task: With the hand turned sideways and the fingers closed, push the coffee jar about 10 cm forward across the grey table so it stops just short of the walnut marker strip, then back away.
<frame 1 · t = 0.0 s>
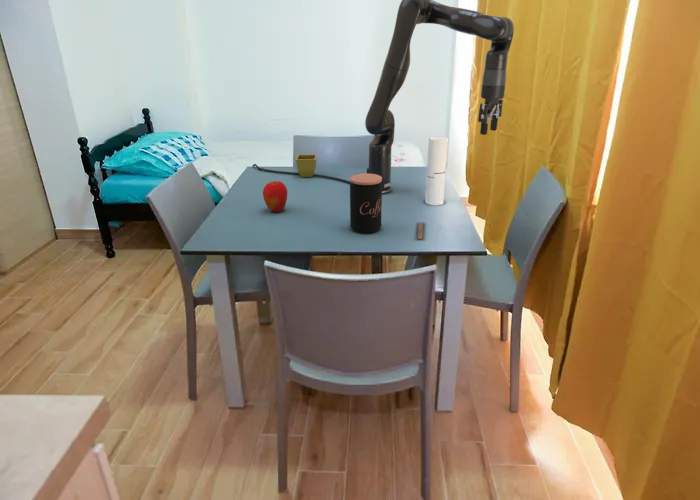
hand: (488, 132, 169), 29 cm above the table, tool pointing down, fingers open, 8 cm apart
flower pot: (307, 176, 228), on the table
coffee jar: (365, 229, 168), on the table
marker strip: (420, 231, 165), on the table
apple: (276, 211, 185), on the table
cylindrical container: (434, 202, 192), on the table
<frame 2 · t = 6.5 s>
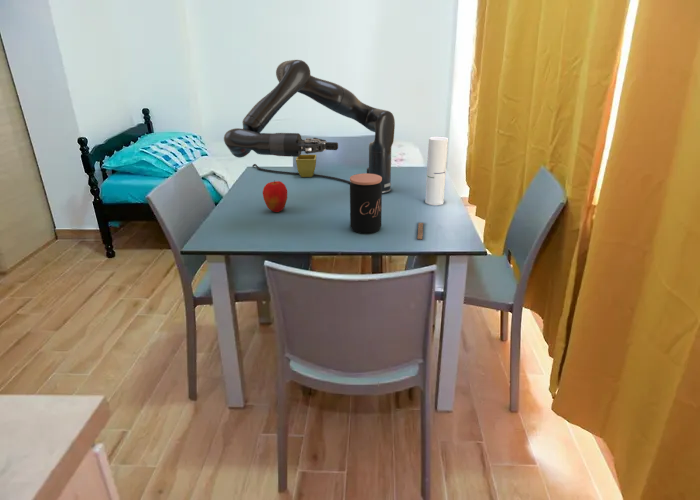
hand: (337, 146, 157), 28 cm above the table, tool horizontal, fingers closed
nothing on the table moved.
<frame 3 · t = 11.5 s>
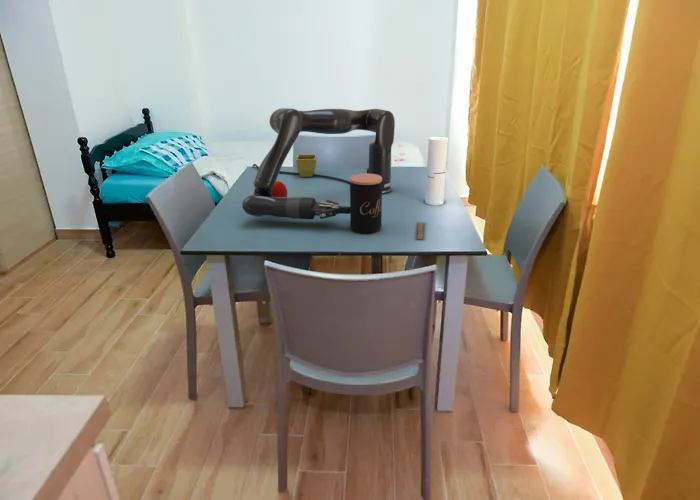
hand: (350, 210, 166), 6 cm above the table, tool horizontal, fingers closed
coffee jar: (365, 229, 168), on the table, touching gripper
everything else where it was.
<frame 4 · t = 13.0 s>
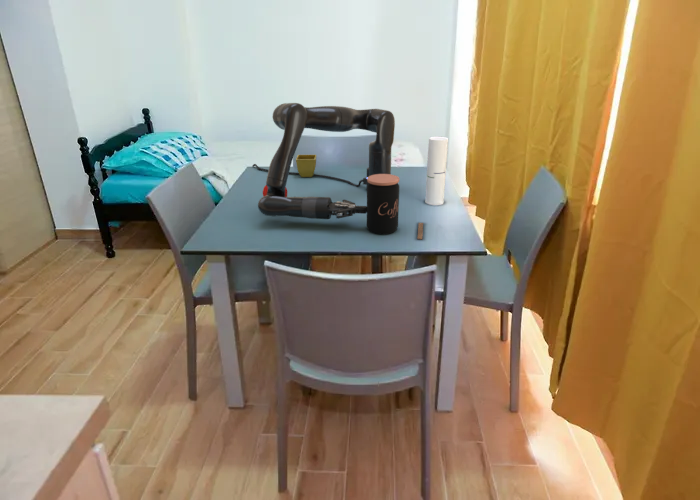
hand: (366, 209, 165), 7 cm above the table, tool horizontal, fingers closed
coffee jar: (382, 229, 167), on the table, touching gripper
everything else where it was.
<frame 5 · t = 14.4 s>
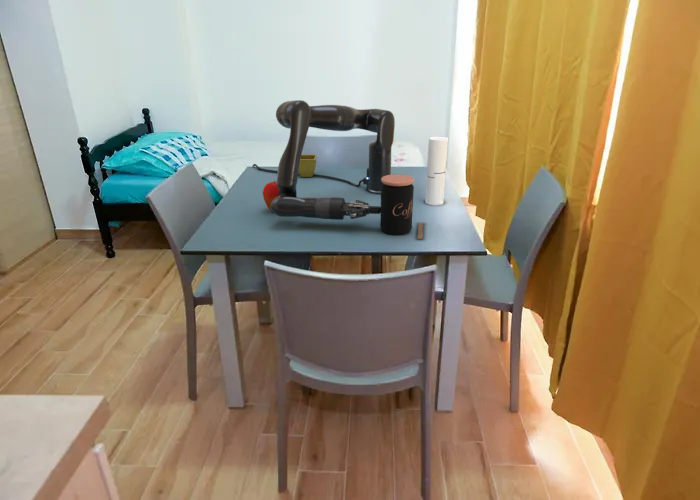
hand: (380, 210, 164), 7 cm above the table, tool horizontal, fingers closed
coffee jar: (395, 230, 167), on the table, touching gripper
everything else where it was.
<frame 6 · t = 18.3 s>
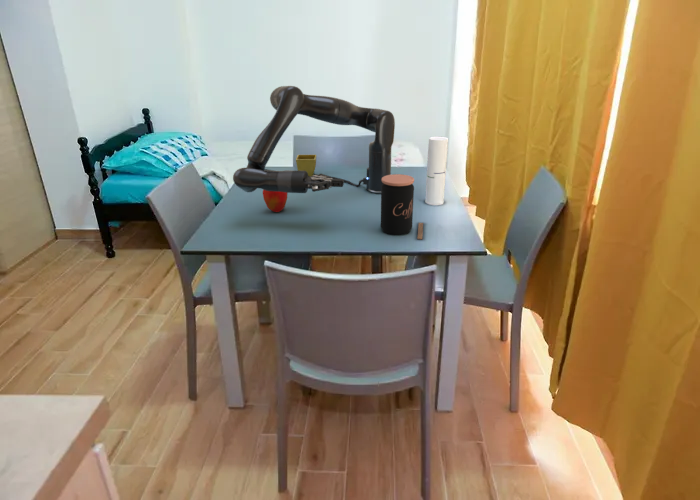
hand: (343, 183, 162), 16 cm above the table, tool horizontal, fingers closed
coffee jar: (396, 230, 167), on the table
everything else where it was.
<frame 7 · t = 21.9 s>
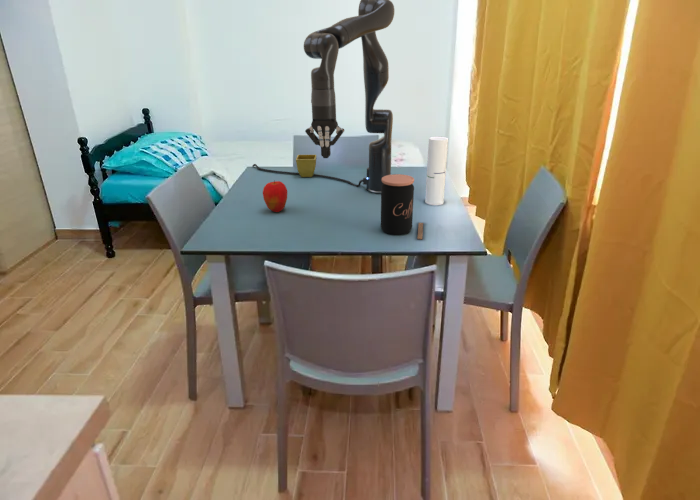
hand: (325, 157, 160), 24 cm above the table, tool pointing down, fingers closed
nothing on the table moved.
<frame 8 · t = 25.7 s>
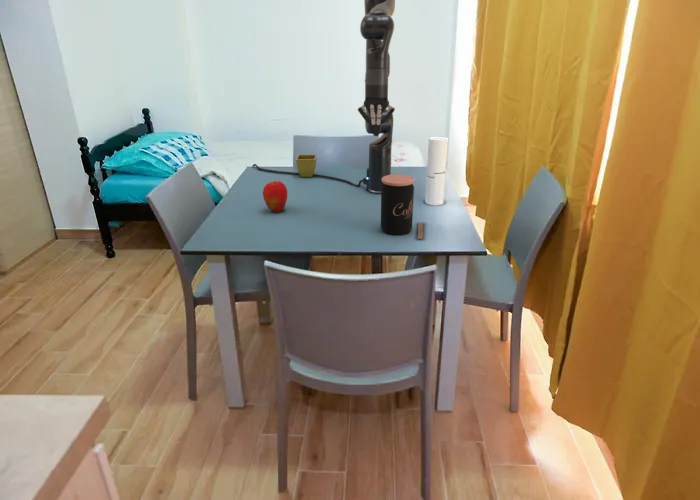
hand: (376, 135, 168), 29 cm above the table, tool pointing down, fingers closed
nothing on the table moved.
at the end: coffee jar moved 10.5 cm from its start; coffee jar inside the target area (0.6 cm from its centre), on the table; coffee jar tilted 0° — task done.
